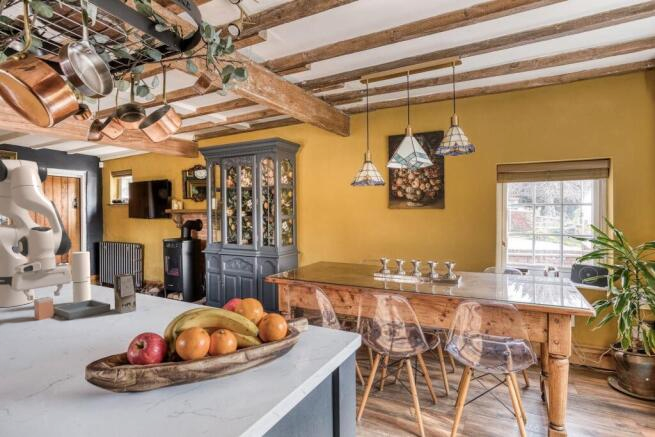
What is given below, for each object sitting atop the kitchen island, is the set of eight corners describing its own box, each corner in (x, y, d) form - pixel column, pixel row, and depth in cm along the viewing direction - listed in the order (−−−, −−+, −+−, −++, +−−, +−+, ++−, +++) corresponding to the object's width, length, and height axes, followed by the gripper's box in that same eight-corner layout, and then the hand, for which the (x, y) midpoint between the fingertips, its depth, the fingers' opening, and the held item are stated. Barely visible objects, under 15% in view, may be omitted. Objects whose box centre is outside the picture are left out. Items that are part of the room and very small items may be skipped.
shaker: (34, 318, 151) (34, 299, 151) (48, 315, 155) (48, 297, 155) (39, 320, 148) (38, 301, 148) (53, 317, 153) (53, 298, 152)
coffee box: (136, 310, 161) (135, 274, 161) (121, 313, 156) (120, 277, 156) (129, 306, 167) (128, 272, 167) (114, 309, 163) (113, 274, 162)
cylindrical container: (94, 301, 179) (93, 251, 178) (83, 305, 172) (81, 253, 171) (81, 301, 180) (79, 251, 179) (69, 304, 172) (68, 253, 172)
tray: (52, 314, 157) (52, 307, 157) (92, 305, 170) (92, 299, 170) (69, 320, 148) (69, 313, 148) (110, 310, 161) (110, 304, 161)
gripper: (67, 261, 162) (68, 292, 162) (9, 268, 144) (10, 302, 145) (74, 262, 158) (75, 293, 158) (15, 269, 141) (16, 304, 141)
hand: (43, 297), depth 151 cm, fingers open, 8 cm apart
